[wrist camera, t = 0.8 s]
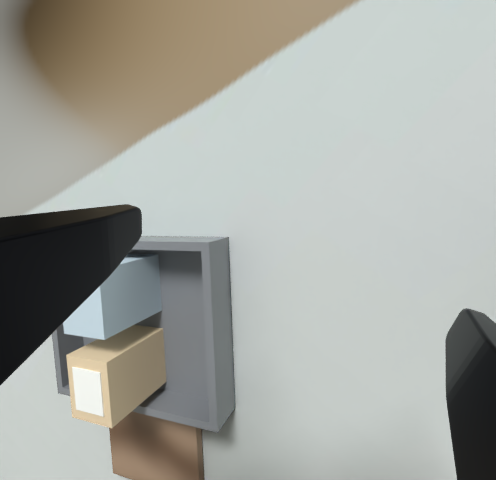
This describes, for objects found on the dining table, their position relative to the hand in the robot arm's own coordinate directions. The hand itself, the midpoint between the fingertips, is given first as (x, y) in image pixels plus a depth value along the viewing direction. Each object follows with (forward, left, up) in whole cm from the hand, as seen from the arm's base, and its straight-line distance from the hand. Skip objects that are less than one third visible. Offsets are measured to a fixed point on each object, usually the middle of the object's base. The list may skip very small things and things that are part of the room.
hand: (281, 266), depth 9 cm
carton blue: (-4, +15, -13) cm, 20 cm away
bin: (-7, +15, -13) cm, 22 cm away
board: (-19, +15, -13) cm, 28 cm away
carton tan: (-10, +15, -13) cm, 22 cm away
